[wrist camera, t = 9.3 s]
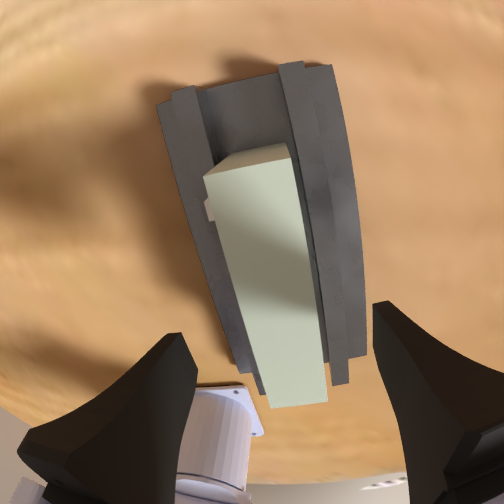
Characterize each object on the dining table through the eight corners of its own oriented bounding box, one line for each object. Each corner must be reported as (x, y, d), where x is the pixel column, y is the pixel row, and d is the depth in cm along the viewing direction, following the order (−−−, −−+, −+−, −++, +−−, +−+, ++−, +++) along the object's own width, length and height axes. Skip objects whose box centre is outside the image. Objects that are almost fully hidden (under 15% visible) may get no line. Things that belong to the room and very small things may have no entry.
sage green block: (316, 322, 21) (327, 401, 14) (266, 329, 21) (261, 409, 15) (285, 142, 16) (290, 157, 10) (223, 155, 17) (189, 179, 10)
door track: (364, 348, 23) (373, 378, 20) (240, 366, 24) (235, 397, 21) (329, 66, 15) (340, 55, 12) (160, 105, 16) (137, 104, 13)
